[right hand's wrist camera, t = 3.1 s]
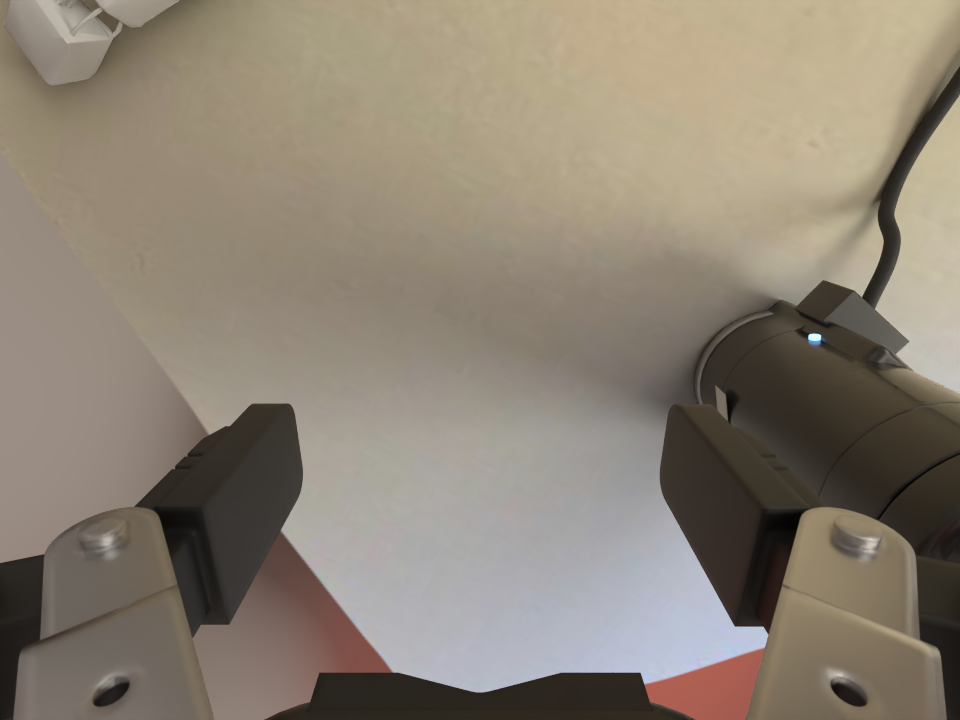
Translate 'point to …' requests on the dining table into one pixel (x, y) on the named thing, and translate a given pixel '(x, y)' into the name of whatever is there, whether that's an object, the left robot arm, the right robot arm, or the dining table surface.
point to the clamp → (72, 33)
